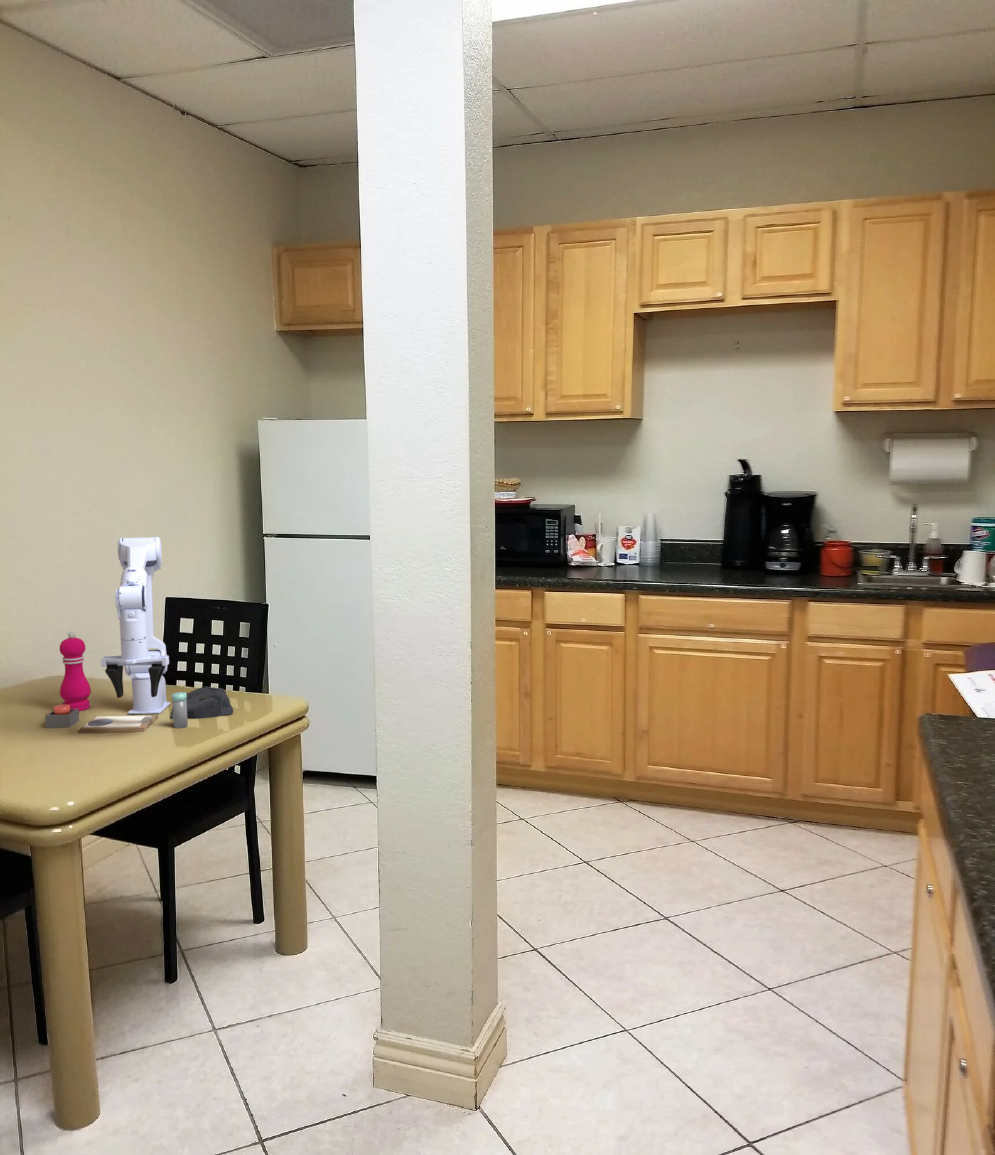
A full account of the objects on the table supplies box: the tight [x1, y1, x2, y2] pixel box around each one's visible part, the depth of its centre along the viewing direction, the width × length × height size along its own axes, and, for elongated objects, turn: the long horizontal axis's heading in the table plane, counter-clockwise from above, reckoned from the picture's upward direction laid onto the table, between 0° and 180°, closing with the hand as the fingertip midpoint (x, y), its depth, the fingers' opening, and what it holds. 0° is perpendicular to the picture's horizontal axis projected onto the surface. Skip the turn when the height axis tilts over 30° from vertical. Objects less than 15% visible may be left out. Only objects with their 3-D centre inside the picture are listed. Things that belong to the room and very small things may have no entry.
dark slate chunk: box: [169, 686, 234, 720], centre depth 240 cm, size 15×22×5 cm
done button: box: [52, 703, 70, 715], centre depth 225 cm, size 4×4×2 cm
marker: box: [171, 691, 189, 729], centre depth 223 cm, size 3×3×8 cm
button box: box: [45, 709, 80, 729], centre depth 225 cm, size 6×6×3 cm
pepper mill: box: [59, 631, 92, 712], centre depth 238 cm, size 7×7×20 cm
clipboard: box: [78, 714, 159, 734], centre depth 224 cm, size 11×15×2 cm
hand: (137, 696), depth 214 cm, fingers open, 7 cm apart
